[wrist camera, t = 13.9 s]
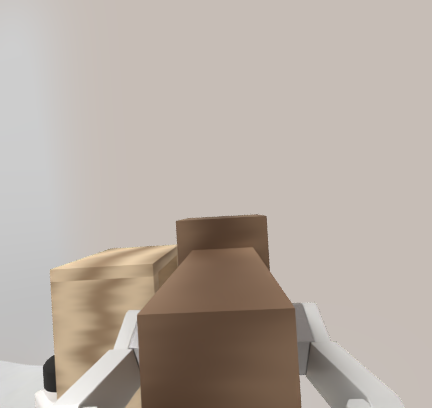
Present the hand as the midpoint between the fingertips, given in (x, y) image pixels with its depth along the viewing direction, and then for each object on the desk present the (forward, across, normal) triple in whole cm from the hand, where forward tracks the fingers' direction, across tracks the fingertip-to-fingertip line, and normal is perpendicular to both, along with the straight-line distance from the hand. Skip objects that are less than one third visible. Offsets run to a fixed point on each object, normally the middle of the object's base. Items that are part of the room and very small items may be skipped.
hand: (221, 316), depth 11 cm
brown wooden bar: (+3, 0, +5) cm, 6 cm away
